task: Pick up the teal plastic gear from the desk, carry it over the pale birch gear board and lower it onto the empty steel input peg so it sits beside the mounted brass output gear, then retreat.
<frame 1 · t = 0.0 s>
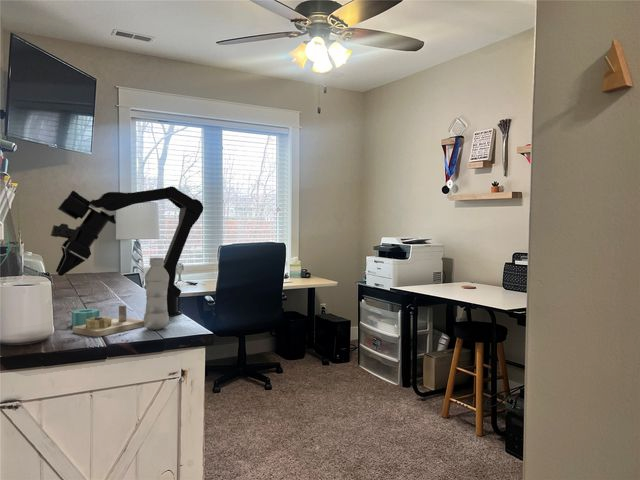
hand: (58, 273, 131), 15 cm above the countertop, tool tilted 35°, fingers open, 9 cm apart
plastic bottle: (156, 329, 128), on the countertop
gear board: (111, 328, 128), on the countertop
teal gear: (86, 324, 133), on the countertop
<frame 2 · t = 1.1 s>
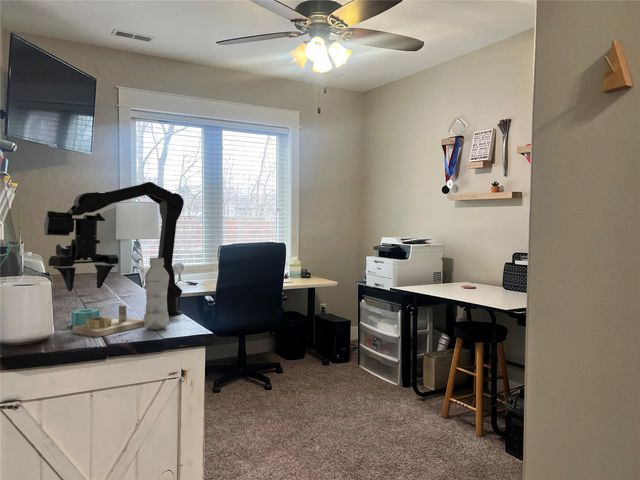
hand: (84, 289, 132), 10 cm above the countertop, tool pointing down, fingers open, 9 cm apart
nothing on the countertop moved.
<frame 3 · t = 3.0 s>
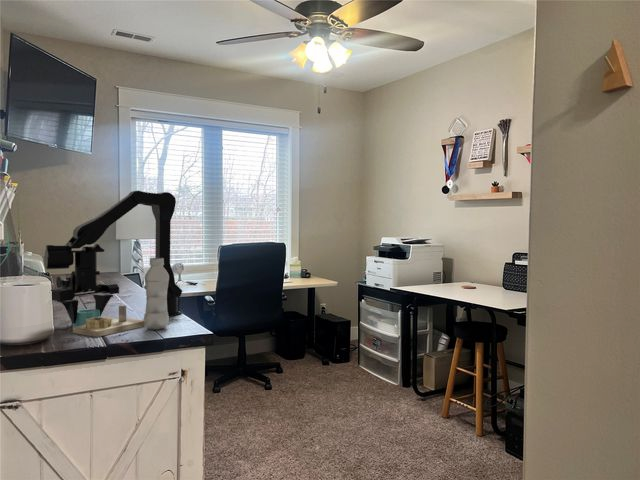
hand: (86, 321, 133), 1 cm above the countertop, tool pointing down, fingers closed on teal gear, 7 cm apart
teal gear: (86, 324, 133), on the countertop, touching gripper
everything else where it was.
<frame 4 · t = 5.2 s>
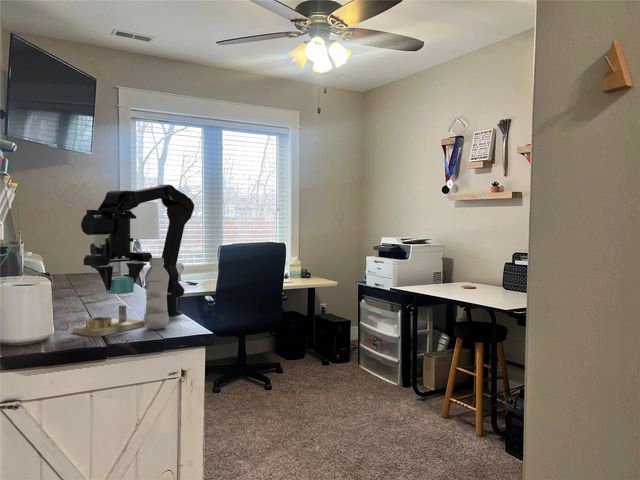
hand: (119, 288, 131), 11 cm above the countertop, tool pointing down, fingers closed on teal gear, 7 cm apart
teal gear: (119, 292, 131), point 10 cm above the countertop, touching gripper
everything else where it was.
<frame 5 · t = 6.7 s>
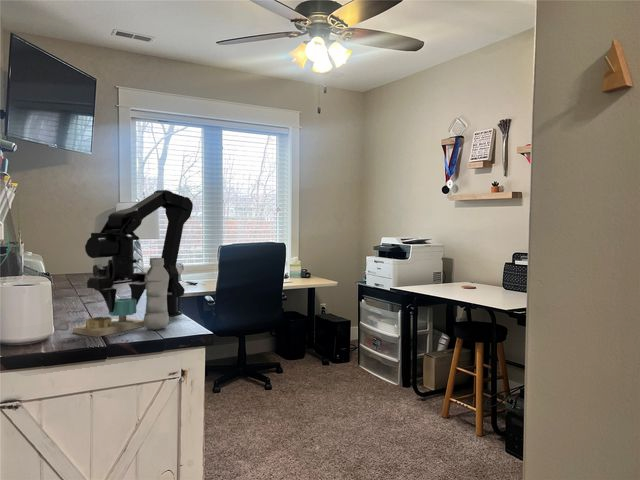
hand: (122, 310, 131), 5 cm above the countertop, tool pointing down, fingers closed on teal gear, 7 cm apart
teal gear: (122, 313, 131), point 4 cm above the countertop, touching gripper
everything else where it was.
when the fingers open (4 cm above the countertop, at t = 7.9 s): teal gear drops 1 cm, resting on gear board.
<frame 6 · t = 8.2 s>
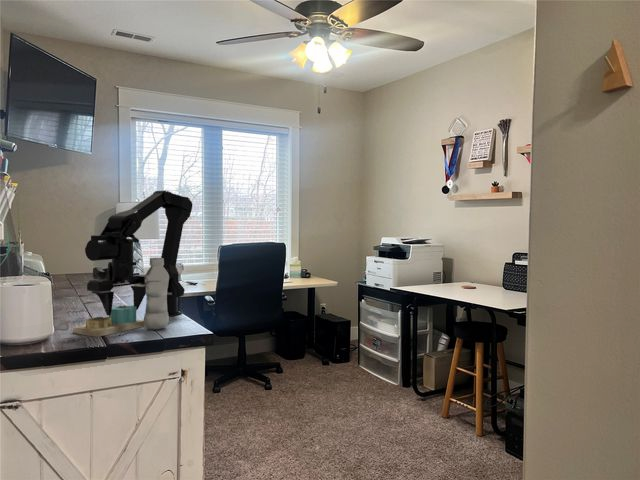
hand: (122, 312, 131), 4 cm above the countertop, tool pointing down, fingers open, 9 cm apart
teal gear: (122, 321, 131), point 1 cm above the countertop, touching gear board
everything else where it was.
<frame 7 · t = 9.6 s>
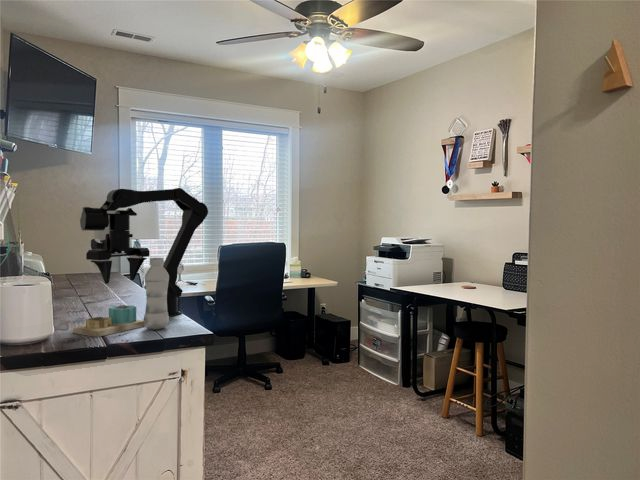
hand: (119, 281, 138), 12 cm above the countertop, tool pointing down, fingers open, 9 cm apart
nothing on the countertop moved.
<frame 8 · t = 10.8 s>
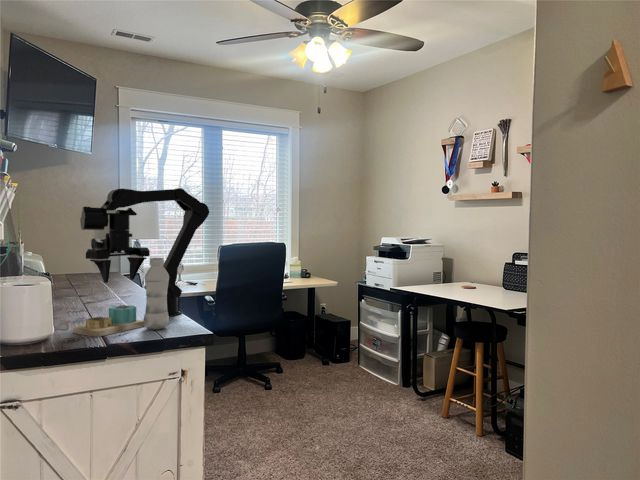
hand: (119, 281, 139), 12 cm above the countertop, tool pointing down, fingers open, 9 cm apart
nothing on the countertop moved.
at the end: teal gear 0.1 cm from the target spot on the gear board, point 1.5 cm above the gear board's base; teal gear tilted 0°; the gripper is holding nothing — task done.
